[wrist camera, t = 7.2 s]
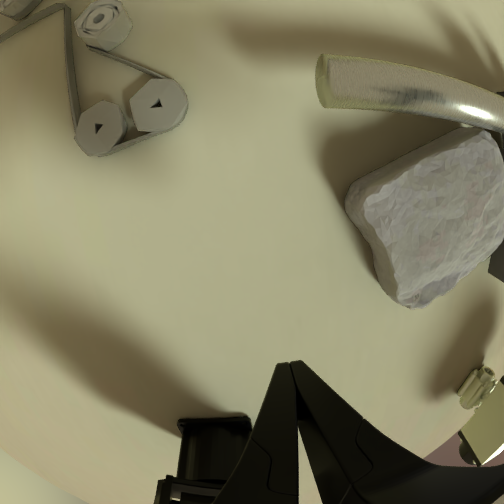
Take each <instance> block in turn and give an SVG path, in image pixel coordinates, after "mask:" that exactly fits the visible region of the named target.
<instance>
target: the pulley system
mask: <svg viewBox="0 0 504 504" xmlns="http://www.w3.org/2000/svg"><path fill="white" fill-rule="evenodd" d="M41 1H42V0H1V1H0V11H1V12H3V13H1V12H0V14H2V15H5V16H7V17H10V18H12V19H14V20H16V21H17V20H19V19H22V18H24V17H26V16H27V15H28V14H29V13H30V12H32V11H33V9H34V8H35V7H36V6H37V5H38V4H39V3H40V2H41ZM63 8H64V44H65V62H66V74H67V83H68V92H69V99H70V106H71V113H72V119H73V124H74V130H75V137H74V139H75V140H76V142H77V144H78V145H79V147H80V148H81V149H82V150H83V151H84V152H85V153H86V154H87V155H88V156H98V157H102V156H107V155H110V154H113V153H115V152H117V151H119V150H122V149H124V148H126V147H129V146H131V145H134V144H136V143H138V142H141V141H143V140H146V139H149V138H151V137H154V136H156V135H159V134H162V133H165V132H167V131H170V130H172V129H174V128H175V127H177V126H178V125H179V124H180V123H181V122H182V121H183V119H184V118H185V115H186V113H187V109H188V100H187V95H186V93H185V91H184V89H183V88H182V87H181V86H180V85H179V84H178V83H177V82H176V81H175V80H174V79H169V78H167V77H165V76H163V75H160V74H158V73H156V72H154V71H151V70H149V69H147V68H144V67H142V66H139V65H137V64H135V63H132V62H130V61H127V60H125V59H122V58H119V57H117V56H114V55H111V54H109V53H107V52H109V51H110V50H112V49H113V48H115V47H117V46H118V45H120V44H121V43H123V42H124V40H125V39H126V38H127V36H128V34H129V32H130V30H131V29H132V21H131V19H130V18H129V16H128V14H127V12H126V10H125V8H124V6H123V5H122V3H121V2H120V1H118V0H97V1H95V2H93V3H91V4H90V5H89V6H88V7H87V8H86V9H85V10H84V11H83V12H82V13H81V15H80V16H79V17H78V18H77V19H76V20H75V21H74V25H75V29H76V32H77V35H78V37H80V38H81V39H82V40H83V41H84V42H85V43H86V46H87V47H88V48H89V50H91V51H94V52H97V53H99V54H102V55H104V56H107V57H109V58H112V59H114V60H117V61H119V62H122V63H124V64H126V65H129V66H131V67H133V68H135V69H138V70H140V71H142V72H144V73H146V74H149V75H151V76H153V77H155V78H157V79H151V80H150V81H148V82H147V83H146V84H145V85H144V86H143V87H142V88H141V89H140V90H139V91H138V92H137V93H136V94H135V95H134V96H133V97H132V98H131V99H130V100H129V102H130V107H131V113H132V118H133V122H134V124H135V126H136V128H137V130H138V131H146V132H152V133H149V134H146V135H143V136H140V137H137V138H135V139H132V140H129V141H127V142H124V143H122V142H123V139H124V136H125V133H126V130H127V126H126V121H125V118H124V116H123V115H122V112H121V110H120V108H119V105H117V104H114V103H110V102H107V101H104V100H102V101H100V102H98V103H97V104H95V105H94V106H92V107H90V108H89V109H87V110H86V111H84V112H83V113H81V111H80V105H79V99H78V93H77V86H76V79H75V71H74V62H73V51H72V37H71V9H70V8H69V7H68V6H67V5H66V4H65V3H56V4H54V5H52V6H50V7H48V8H46V9H44V10H42V11H40V12H38V13H36V14H34V15H33V16H31V17H29V18H27V19H25V20H24V21H22V22H20V23H19V24H17V25H15V26H14V27H12V28H11V29H9V30H7V31H6V32H4V33H3V34H1V35H0V43H1V42H3V41H4V40H6V39H7V38H9V37H10V36H12V35H14V34H15V33H17V32H19V31H20V30H22V29H24V28H25V27H27V26H29V25H31V24H32V23H34V22H36V21H38V20H40V19H42V18H44V17H46V16H48V15H50V14H52V13H54V12H56V11H58V10H60V9H63ZM4 13H6V14H8V15H6V14H4ZM9 15H10V16H9ZM11 16H12V17H11ZM160 102H161V105H162V107H157V106H158V105H159V103H160ZM154 131H155V132H154Z"/></svg>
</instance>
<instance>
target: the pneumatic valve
mask: <svg viewBox="0 0 504 504" xmlns="http://www.w3.org/2000/svg"><path fill="white" fill-rule="evenodd" d="M494 378H495V373H494V371H493V370H492V369H490V368H489V367H487V366H484V367H482V368H481V369H480V371H477V369H476V370H474V371H472V372H471V373H470V375H469V376H468V377H467V379H466V380H465V382H464V383H463V385H462V386H461V388H460V389H459V390H458V396H461V398H460V404H461V406H462V407H463V408H465V409H471V408H473V406H477V405H478V406H480V407H479V408H478V407H477V408H476V409H475V410H474V411H475V414H474V415H473V416H472V417H471V418H470V420H469V421H468V422H467V423H466V424H465V425H464V426H463V428H462V429H461V430H460V431H459V432H458V435H459V436H460V438H461V439H460V441H461V442H462V443H461V444H460V446H459V453H460V456H461V457H462V459H463V460H464V461H465V462H466V463H468V464H471V465H477V467H481V466H482V465H483V464H485V463H487V462H489V461H490V460H492V459H493V458H495V457H496V456H497V455H498V454H499V453H500V452H501V451H502V450H503V449H504V376H502V378H501V379H500V381H499V382H498V384H497V385H496V383H497V380H496V379H494ZM493 379H494V380H493Z"/></svg>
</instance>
